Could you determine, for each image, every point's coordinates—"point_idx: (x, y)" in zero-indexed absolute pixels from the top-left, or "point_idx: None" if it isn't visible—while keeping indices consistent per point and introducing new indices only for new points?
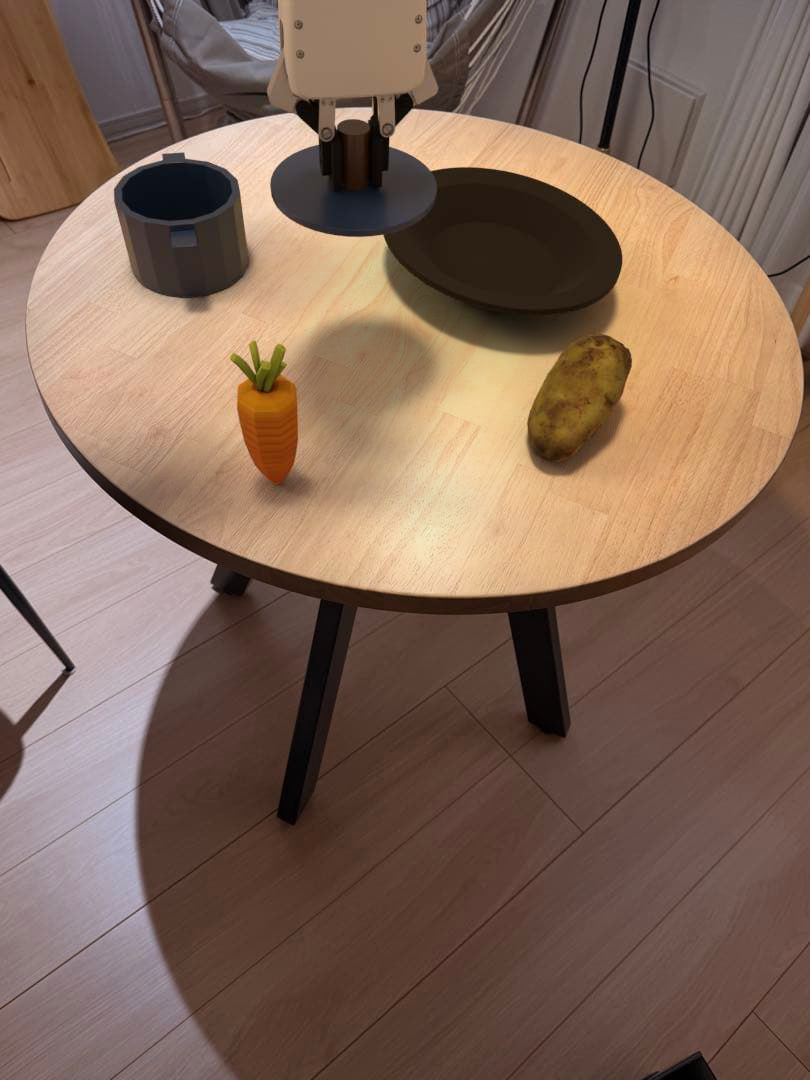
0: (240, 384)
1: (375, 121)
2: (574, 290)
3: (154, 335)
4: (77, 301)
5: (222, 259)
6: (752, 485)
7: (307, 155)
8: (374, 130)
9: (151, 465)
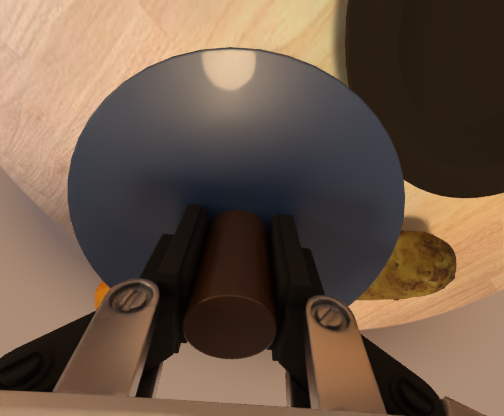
0: (96, 297)
1: (289, 356)
2: (495, 170)
3: (33, 17)
4: None
5: None
6: (441, 312)
7: (159, 105)
8: (278, 352)
9: (62, 200)
